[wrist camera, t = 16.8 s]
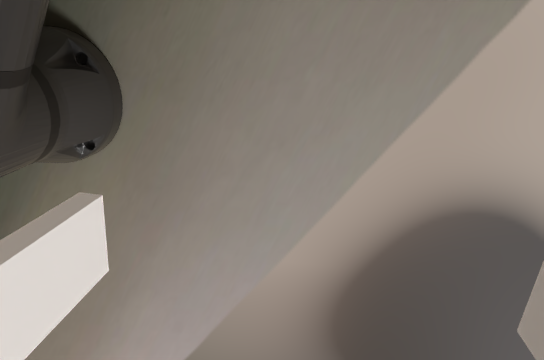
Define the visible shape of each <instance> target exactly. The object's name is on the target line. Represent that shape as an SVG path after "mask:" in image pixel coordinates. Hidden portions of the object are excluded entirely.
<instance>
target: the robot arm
mask: <svg viewBox="0 0 544 360" xmlns="http://www.w3.org/2000/svg"><path fill="white" fill-rule="evenodd" d="M48 4H49V0H0V177H2V176H4V175H7V174H9V173H11V172H14V171H16V170H18V169H20V168H23V167H25V166H27V165H30V164H32V163H34V162H43V163H68V162H74V161H79V160H82V159H85V158H87V157H89V156H91V155H93V154H95V153H97V152H99V151H101V150H102V149H103V148H105V147H106V146H107V145H108V144H109V143H110V142H111V141H112V139H113V138H114V136H115V134H116V133H117V130H118V128H119V125H120V122H121V117H122V95H121V90H120V86H119V83H118V80H117V77H116V75H115V73H114V71H113V69H112V67H111V66H110V64H109V62H108V61H107V60H106V58H105V57H104V56H103V54H102V53H101V52H100V51H99V50H98V49H97V48H96V47H95V46H94V45H93V44H92V43H90V42H89V41H88V40H86V39H85V38H83V37H82V36H80V35H78V34H76V33H74V32H72V31H70V30H67V29H63V28H59V27H51V26H43V24H44V20H45V16H46V12H47V8H48ZM108 271H109V268H108V256H107V244H106V232H105V220H104V208H103V196H102V195H97V194H89V193H81V192H79V193H77V194H76V195H74V196H72V197H71V198H69V199H67V200H66V201H64V202H63V203H61V204H59V205H58V206H56V207H54V208H53V209H51V210H49V211H48V212H46V213H44V214H43V215H41V216H40V217H38V218H36V219H35V220H33V221H31V222H30V223H28V224H26V225H25V226H23V227H22V228H20V229H18V230H17V231H15V232H13V233H12V234H10V235H8V236H7V237H5V238H3V239H2V240H0V360H24V359H25V358H26V357H27V356H28V355H29V354H30V353H31V352H32V351H33V350H34V349H35V348H36V347H37V346H38V345H39V343H40V342H41V341H42V340H43V339H44V338H45V337H46V336H47V335H48V334H49V333H50V332H51V331H52V330H53V329H54V328H55V327H56V326H57V325H58V323H59V322H60V321H61V320H62V319H63V318H64V317H65V316H66V315H67V314H68V313H69V312H70V311H71V310H72V309H73V308H74V307H75V306H76V304H77V303H78V302H79V301H80V300H81V299H82V298H83V297H84V296H85V295H86V294H87V293H88V292H89V291H90V290H91V289H92V288H93V287H94V285H95V284H96V283H97V282H98V281H99V280H100V279H101V278H102V277H103V276H104V275H105V274H106V273H107V272H108ZM517 332H518V333H519V335H520V336H521V338H522V339H523V341H524V342H525V344H526V345H527V347H528V348H529V350H530V351H531V353H532V354H533V356H534V357H535V359H536V360H544V261H543V264H542V267H541V269H540V272H539V274H538V277H537V280H536V282H535V285H534V287H533V290H532V293H531V295H530V298H529V301H528V304H527V306H526V308H525V311H524V314H523V316H522V319H521V322H520V324H519V327H518V329H517Z"/></svg>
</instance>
